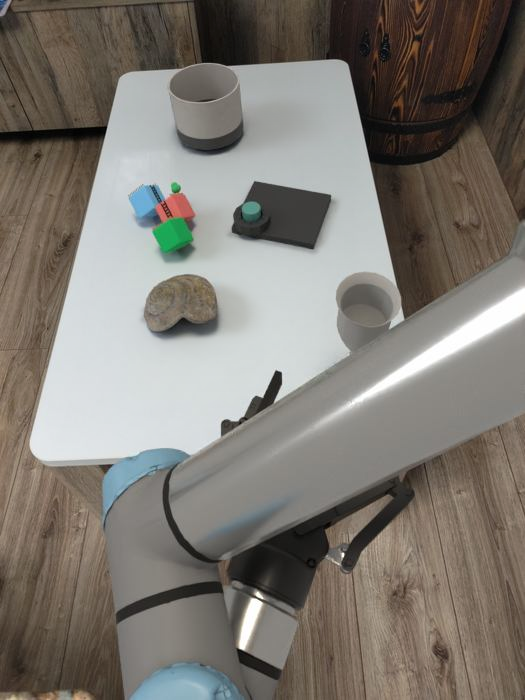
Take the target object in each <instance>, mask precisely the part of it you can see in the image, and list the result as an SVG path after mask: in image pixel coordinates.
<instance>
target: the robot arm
mask: <svg viewBox="0 0 525 700" xmlns="http://www.w3.org/2000/svg"><path fill="white" fill-rule="evenodd" d="M349 354H350V353H349ZM282 385H283V372H282V371H280V370H277V369H275V370H274V373H273V374H272V377H271V379H270V382H269V383H268V385H267V388H266V390H265V392H264V394H263V396H262V397H261V396H259V395H255V396H254V397H253V398H251V400H250V403H249V405H248V407H247V409H246V411H245V413H244V415H243V416H242V417H240V418H239V419H238V420H237V421H235V420H231V419H228V418H226V419H225V418H224V419H223V420H222V421H221V422H220V437H219V438H217V439H215V440H214V441H212V442H211V443H209V444H208V445H206V446H204V447H203V448H202V449H200V450H198V451H197V452H195V453H194V454H192V455H191V456H190V454H188V453H187V452H186V451H183V450H181V449H177V448H173V447H160V448H150V449H147V450H143V451H140V452H139V453H137V454H136V455H133V456H125V457H124V458H122V459H120V460H119V461H117V462H116V463H114V464H113V465H112V466H111V467H110V468H109V469H108V470H107V472H106V473H105V475H104V477H103V480H102V485H101V494H102V495H101V496H102V511H103V512H102V513H103V516H102V518H101V523H102V529H103V533H104V538H105V546H106V552H107V553H106V554H107V561H108V568H109V575H110V585H111V591H112V599H113V606H114V613H115V623H116V633H117V634H116V635H117V643H118V649H119V650H118V652H119V660H120V671H121V678H122V679H121V680H122V687H123V695H124V700H273V699H274V696H275V692H276V688H277V685H278V683H279V680H280V679H281V675H282V673H283V670H284V668H285V666H286V662H287V659H288V656H289V654H290V650H291V646H292V645H293V641H294V638H295V635H296V633H297V629H298V627H299V620H298V617H296V616H295V612H301V610H304V609H305V605H306V602H307V600H308V596H309V594H310V591H311V587H312V585H313V582H314V579H315V576H316V573H317V570H318V567H319V565H320V563H321V562H323V560H326V561H327V562H329V563H331V564H332V565H335V566H336V567H337V568H339V570H340V572H341V573H342V574H344V575H349V574H351V573H352V572H353V570H354V569H355V568H356V565H357V563H358V561H359V559H360V556H361V554H362V552H363V551H364V550H365V549H366V548H367V547H368V546H369V545H370V544H371V543H373V541H374V540H375V539H376V538H377V537H378V536H379V535H380V534H381V533H382V532H383V531H384V530H385V529H386V528H387V527H388V526H389V525H390V524H391V523H392V522H393V521H394V520H395V519H396V518H397V517H398V516H399V515H400V514H401V513H403V511H404V510H405V509H406V508H407V507H408V506H409V505H410V503H411V501H413V499H414V498H415V495H416V493H415V490H414V489H413V488H412V487H410V486H406V485H405V484H404V483H403V482H401V479H400V475H402V474H404V473H406V472H408V471H409V470H412V469H414V468H417V467H418V466H421V465H422V464H424V463H426V462H429V461H430V460H433V459H435V458H436V457H439V456H440V455H443V454H445V453H447V452H449V451H450V450H451V451H452V450H453V449H455V448H457V447H459V446H460V445H463V444H465V443H467V442H469V441H471V440H473V439H475V438H477V437H479V436H481V435H483V434H485V433H487V432H489V431H492V430H493V429H495V428H498V427H499V426H501V425H505V424H506V423H508V422H509V421H512V420H514V419H516V418H518V417H519V416H522V415H524V414H525V218H523V219H522V220H521V221H519V222H518V223H517V224H516V229H515V231H514V235H513V238H512V242H511V245H510V248H509V249H508V251H507V253H506V254H505V255H503V256H502V257H500V258H498V259H497V260H495V261H494V262H492V263H491V264H489V265H488V266H486V267H484V268H483V269H481V270H480V271H478V272H476V273H475V274H474V275H472V276H470V277H468V279H466V280H464V281H462V282H461V283H460V284H458V285H456V286H455V287H453V288H452V289H450V290H449V291H447V292H445V293H444V294H442V295H441V296H439V297H438V298H436V299H435V300H433V301H432V302H431V301H430V303H428V304H426V305H424V307H422V308H421V309H419V310H417V311H416V312H414V313H412V314H411V315H409V316H408V317H406V318H405V319H403V320H401V321H399V322H398V323H397V324H396V325H394V326H392V327H390V328H389V330H388V331H386V332H384V333H383V334H381V335H380V336H378V337H377V338H375V339H374V340H372V341H370V342H369V343H367V344H366V345H364V346H363V347H361V348H359V349H358V350H356V351H355V352H353V353H352V354H350V355H346V357H344V358H342V359H341V360H339V361H338V362H336V363H335V364H333V365H332V366H329V367H328V368H327V369H325V370H324V371H322V372H320V373H319V374H317V375H316V376H315V377H312V378H311V379H310V380H308V381H306V382H305V383H303V384H302V385H300V386H298V387H297V388H295V389H294V390H292V391H291V392H289V393H287V394H286V395H284V396H283V397H281V398H279V399H278V400H276V399H277V396H278V394H279V392H280V390H281V388H282ZM388 495H389V496H390V497H392V499H391V500H390V501H389V502H388V503H387V504H386V505H385V506H384V507H383V508H382V509H381V510H380V511H379V512H378V513H377V514H376V515H375V516H374V517H373V518H372V519H371V520H370V521H369V522H368V523H367V524H366V525H364V527H362V528H361V530H360V531H358V532H357V534H356V535H355V536H354V537H353V539H352V540H351V541H350V543H348V542H344V541H343V542H341V543H339V545H338V546H336V547H330V543H329V542H330V541H329V539H328V538H329V537H328V534H327V532H326V531H327V530H328V529H330V528H332V527H334V526H335V525H336V524H337V523H339V522H342V521H343V520H344V519H346V518H348V517H351V516H352V515H353V514H356V513H357V512H359V511H361V510H363V509H365V508H366V507H368V506H370V505H372V504H374V503H375V502H378V501H379V500H381V499H382V498H384V497H386V496H388ZM229 559H230V560H229ZM227 560H229V563H228V566H227V568H226V570H225V574H226V579H228V580H227V583H222V579H221V574H220V569H219V564H221V563H222V562H224V561H227Z"/></svg>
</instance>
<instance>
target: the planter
mask: <svg viewBox="0 0 525 700" xmlns="http://www.w3.org/2000/svg"><path fill="white" fill-rule="evenodd" d="M167 90H168V91H167V92H168V96H169V100H170V106H171V109H172V115H173V119H174V124H175V128H176V129H175V130H176V134H177V137H178V139H179V140H180V142H181V143H183V144H184V145H186V146H187V147H190V148H192V149H196V150H203V151H209V150H218V149H221V148H225V147H227V146H229V145H232V144H233V143H234V142H236V141H237V140H238V139H239V138H240V137H241V135H242V134H243V131H244V117H243V106H242V96H241V95H242V93H241V83H240V76H239V74H238V73H237V72H236V70H234V69H233V68H232V67H230V66H227V65H224V64H221V63H213V62H202V63H196V64H192V65H188V66H186V67H183V68H181V69H180V70H179V69H178V71H176V72H175V73H174V74H172V76H171V77H170V78H169V80H168V82H167Z"/></svg>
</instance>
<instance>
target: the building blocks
mask: <svg viewBox="0 0 525 700" xmlns="http://www.w3.org/2000/svg"><path fill="white" fill-rule="evenodd" d="M170 187H171V188H170V189H171V192H172V193H169V197H167V198H165V196H164V194H163V192H162V190H161V188H160V186H159V185H158V184H157V183H154V184H147V185H144V183H142V184H140V186H138V187H137V188H135V189H134V190H132V191H131V192H130V193H129V194H127V196H128V201H129V202H130V204H131V206H132V208H133V210H134V212H135V214H136V216H137V217H138V219H140V220H142V219H149V218H154V217H156V216H157V215H158V216H159V219H160V220H161V222H160V223H158V224H156V225H155V226H154V227H152V228H151V232H152V235H153V237H154V239H155V240H156V242H157V244H158V247H159V248H160V250H161V252H162V253H163V254H169V253H173V252H176V251H179V250H181V249H182V248H184V247H185V246H187V245H190V243H192V242H193V241H194V239H195V238H194V236H193V234H192V232H191V230H190V229H189V227H188V225H187V223H188V222H190V221H191V220H192V219H193V218H195V217H196V214H195V212H194V209H193V208H192V206H191V204H190V201H189V200H188V198H187V196H186V194H184V193H183V192H181V190H182V187H181V185H180V184H178V183H177V182H176V181H173V182H171V184H170Z"/></svg>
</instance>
